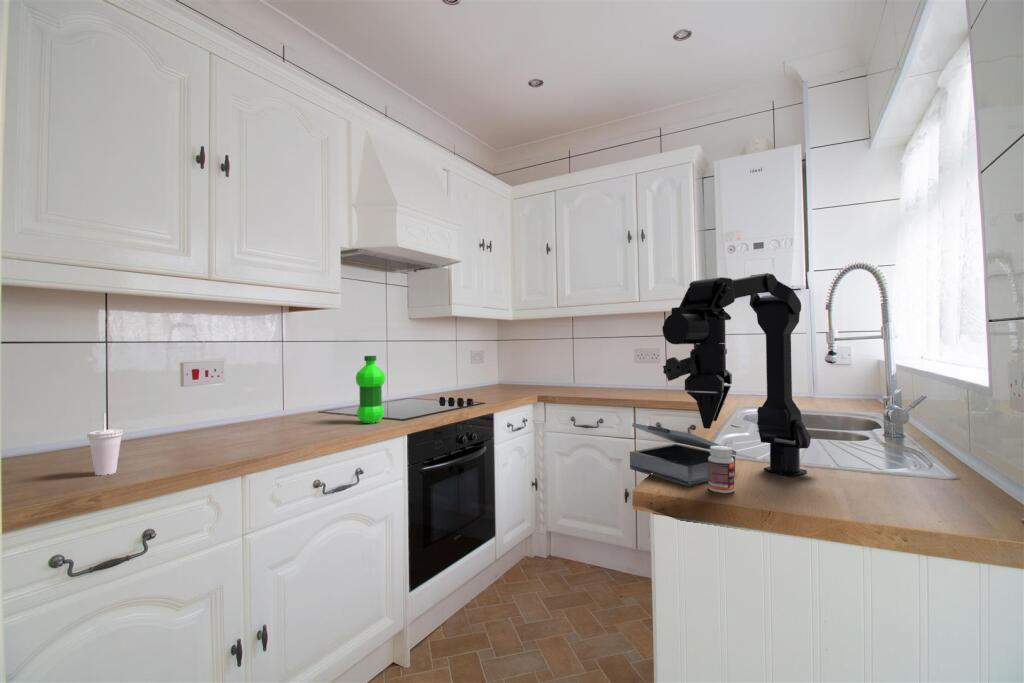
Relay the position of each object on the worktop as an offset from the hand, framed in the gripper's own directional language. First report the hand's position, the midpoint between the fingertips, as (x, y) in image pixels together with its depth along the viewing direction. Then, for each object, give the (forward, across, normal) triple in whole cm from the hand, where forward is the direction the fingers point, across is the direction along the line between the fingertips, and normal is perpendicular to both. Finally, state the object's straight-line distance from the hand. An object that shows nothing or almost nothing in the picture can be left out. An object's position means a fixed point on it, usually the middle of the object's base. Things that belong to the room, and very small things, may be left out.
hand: (710, 424), depth 92 cm
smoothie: (+13, +51, -124) cm, 134 cm away
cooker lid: (+6, -14, -8) cm, 17 cm away
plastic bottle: (+13, -29, -122) cm, 126 cm away
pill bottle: (+14, -4, +1) cm, 14 cm away
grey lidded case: (+14, -14, -8) cm, 21 cm away
